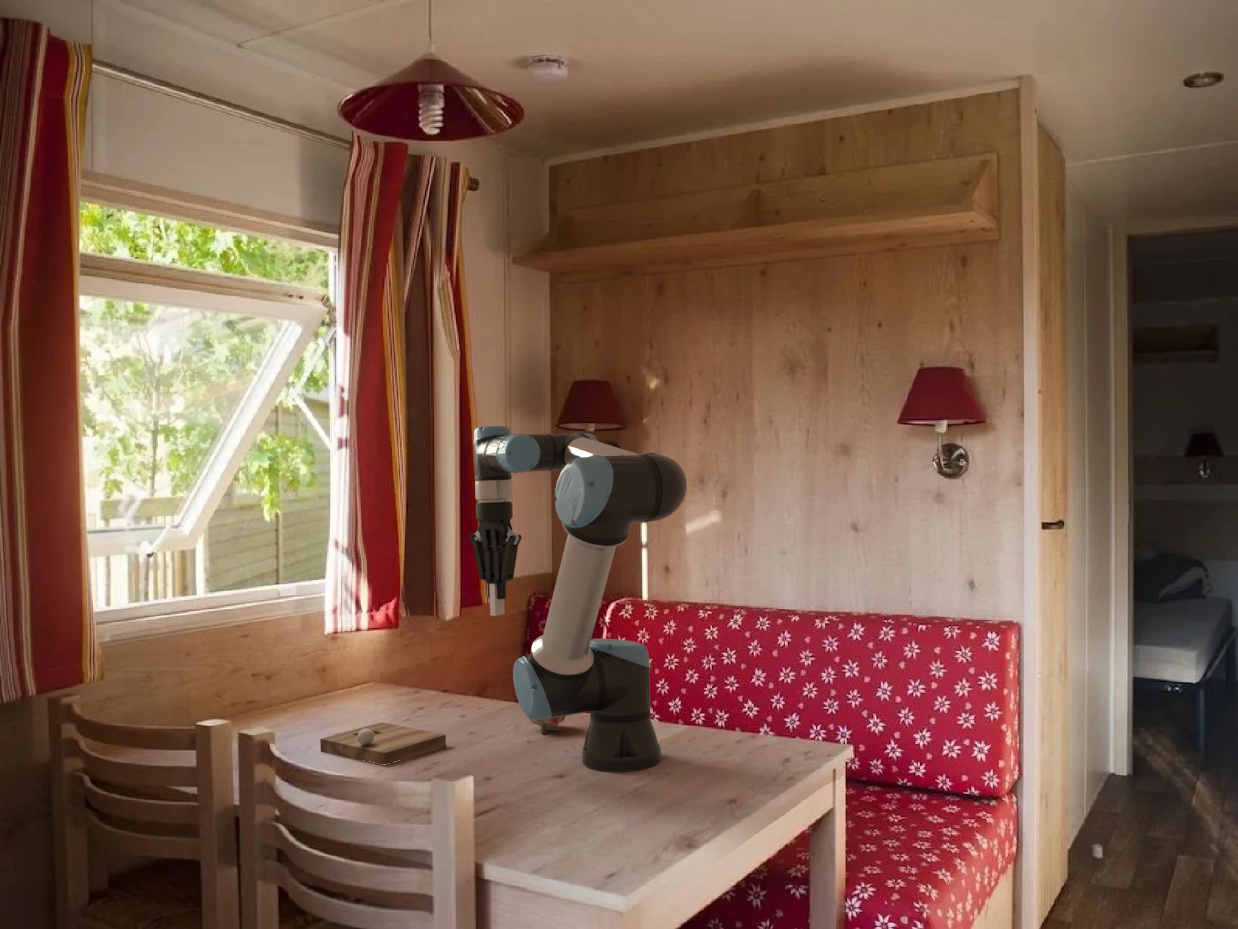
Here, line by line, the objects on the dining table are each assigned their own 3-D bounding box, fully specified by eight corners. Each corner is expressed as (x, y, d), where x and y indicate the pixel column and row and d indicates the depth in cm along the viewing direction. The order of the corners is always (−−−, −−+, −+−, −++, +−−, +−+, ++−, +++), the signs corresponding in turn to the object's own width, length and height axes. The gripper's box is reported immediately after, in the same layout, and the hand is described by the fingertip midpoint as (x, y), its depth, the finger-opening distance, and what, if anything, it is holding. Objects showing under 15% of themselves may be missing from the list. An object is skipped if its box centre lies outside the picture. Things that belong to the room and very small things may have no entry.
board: (446, 747, 227) (445, 734, 226) (385, 765, 214) (384, 753, 214) (381, 733, 239) (381, 722, 239) (320, 751, 226) (320, 738, 226)
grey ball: (377, 744, 221) (377, 728, 221) (364, 747, 218) (364, 731, 218) (367, 742, 223) (366, 726, 223) (354, 745, 220) (353, 729, 220)
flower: (564, 730, 231) (570, 694, 235) (520, 722, 231) (528, 686, 235) (562, 745, 239) (568, 711, 243) (520, 738, 239) (527, 703, 243)
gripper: (529, 500, 228) (533, 614, 228) (484, 499, 236) (487, 610, 236) (504, 502, 222) (507, 619, 222) (458, 501, 230) (462, 615, 230)
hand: (497, 614), depth 229 cm, fingers closed
